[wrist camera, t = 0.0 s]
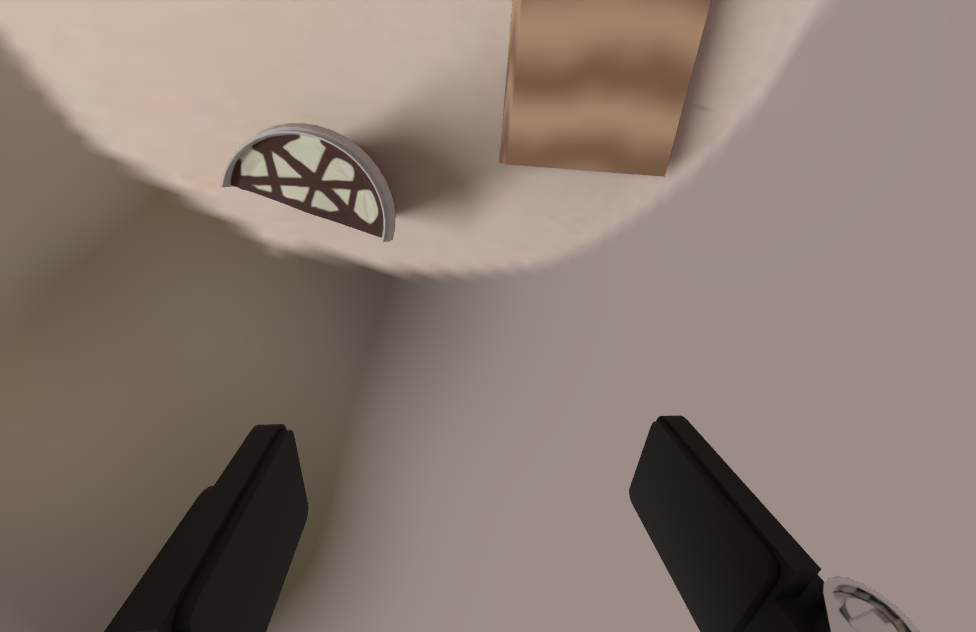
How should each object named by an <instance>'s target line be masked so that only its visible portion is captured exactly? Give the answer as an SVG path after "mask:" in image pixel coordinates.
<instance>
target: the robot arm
mask: <svg viewBox="0 0 976 632" xmlns="http://www.w3.org/2000/svg"><path fill="white" fill-rule="evenodd" d="M629 494H630V499H631V502H632V504H633V506H634V508H635V510H636V512H637V514H638V516H639V517H640V519H641V521H642V523H643V525H644V527H645V529H646V531H647V532H648V534H649V536H650V538H651V540H652V542H653V544H654V546H655V548H656V549H657V551H658V553H659V555H660V557H661V559H662V561H663V562H664V564H665V566H666V568H667V570H668V572H669V574H670V576H671V577H672V579H673V581H674V583H675V585H676V587H677V589H678V591H679V592H680V594H681V596H682V598H683V600H684V602H685V604H686V606H687V608H688V609H689V611H690V613H691V615H692V617H693V619H694V621H695V623H696V625H697V626H698V628H699V630H700V632H920V631H919V630H918V629H917V628H916V626H915V625H914V624H913V623H912V622H911V620H910V619H909V618H908V617H907V616H906V615H905V614H904V613H903V612H902V611H901V610H899V608H898V607H897V606H896V605H894V604H893V603H892V602H890V601H889V600H888V599H886V598H885V597H884V596H883V595H881V594H880V593H879V592H877V591H875V590H873V589H871V588H870V587H868V586H866V585H865V584H863V583H860V582H858V581H855V580H853V579H850V578H846V577H840V576H835V577H831V578H828V579H827V580H826V582H824V581H823V580H822V579H821V578H820V577H819V576H818V572H819V571H820V570H821V568H820V567H819V566H818V565H817V564H816V563H815V562H814V561H813V559H812V558H811V557H810V556H809V555H808V554H807V553H806V552H805V551H804V550H803V548H802V547H801V546H800V545H799V544H798V543H797V542H796V541H795V539H793V537H792V536H791V535H790V534H789V533H788V532H787V531H786V529H785V528H784V527H783V526H782V525H781V524H780V523H779V522H778V521H777V519H775V517H774V516H773V515H772V514H771V513H770V512H769V511H768V510H767V508H766V507H765V506H764V505H763V504H762V503H761V502H760V500H759V499H758V498H757V497H756V496H755V495H754V494H753V493H752V492H751V490H749V488H748V487H747V486H746V485H745V484H744V483H743V482H742V480H741V479H740V478H739V477H738V476H737V475H736V474H735V473H734V472H733V470H732V469H731V468H730V467H729V466H728V465H727V464H726V463H725V462H724V460H723V459H722V458H721V457H720V456H719V455H718V454H717V453H716V451H715V450H714V449H713V448H712V447H711V446H710V445H709V444H708V443H707V442H706V440H704V438H703V437H702V436H701V435H700V434H699V433H698V431H697V430H696V429H695V428H694V427H693V426H692V425H691V424H690V423H689V421H688V420H687V419H685V418H684V417H683V416H660V417H659V418H658V419H657V420H656V422H653V423H652V425H651V428H650V430H649V434H648V437H647V439H646V442H645V446H644V448H643V451H642V454H641V457H640V460H639V462H638V466H637V468H636V471H635V474H634V477H633V480H632V483H631V486H630V489H629ZM307 515H308V502H307V497H306V492H305V487H304V482H303V477H302V472H301V467H300V462H299V457H298V452H297V448H296V442H295V437H294V433H293V431H291V430H286V427H285V426H284V425H283V424H273V425H256V426H255V427H254V428H253V429H252V430H251V431H250V433H249V434H248V436H247V437H246V439H245V440H244V442H243V443H242V445H241V447H240V448H239V449H238V451H237V452H236V454H235V455H234V457H233V458H232V460H231V461H230V463H229V464H228V466H227V467H226V469H225V470H224V472H223V473H222V475H221V476H220V478H219V479H218V481H217V482H216V484H215V485H214V486H210V487H208V488H207V489H205V490H204V491H203V492H202V493H201V494H200V495H199V497H198V498H197V499H196V501H195V502H194V504H193V505H192V506H191V508H190V509H189V511H188V512H187V513H186V515H185V516H184V518H183V519H182V521H181V522H180V524H179V525H178V527H177V528H176V529H175V531H174V532H173V534H172V535H171V537H170V538H169V539H168V541H167V543H166V544H165V545H164V547H163V548H162V549H161V551H160V552H159V554H158V555H157V557H156V558H155V559H154V561H153V562H152V564H151V565H150V567H149V568H148V570H147V571H146V572H145V574H144V575H143V577H142V578H141V580H140V581H139V583H138V584H137V585H136V587H135V588H134V590H133V591H132V593H131V594H130V595H129V597H128V598H127V600H126V601H125V603H124V604H123V606H122V607H121V608H120V610H119V611H118V613H117V614H116V615H115V617H114V618H113V620H112V621H111V623H110V624H109V625H108V627H107V628H106V630H105V631H104V632H266V630H267V628H268V625H269V622H270V619H271V616H272V614H273V611H274V608H275V605H276V603H277V600H278V597H279V594H280V592H281V589H282V586H283V584H284V581H285V578H286V575H287V572H288V570H289V567H290V564H291V562H292V559H293V556H294V553H295V551H296V548H297V545H298V542H299V540H300V537H301V534H302V531H303V529H304V525H305V522H306V520H307Z"/></svg>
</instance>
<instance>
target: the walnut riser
mask: <svg viewBox="0 0 976 632" xmlns="http://www.w3.org/2000/svg"><path fill="white" fill-rule="evenodd" d="M710 3H711V0H513V2H512V15H511V27H510V39H509V52H508V64H507V76H506V88H505V101H504V113H503V125H502V138H501V150H500V163H504V164H511V165H523V166H536V167H549V168H562V169H575V170H588V171H600V172H613V173H626V174H639V175H652V176H665V173H666V169H667V165H668V162H669V158H670V154H671V150H672V146H673V143H674V139H675V135H676V131H677V128H678V124H679V120H680V116H681V112H682V109H683V105H684V101H685V97H686V94H687V90H688V86H689V82H690V78H691V75H692V71H693V67H694V63H695V59H696V56H697V52H698V48H699V44H700V41H701V37H702V33H703V29H704V25H705V22H706V18H707V14H708V10H709V7H710Z"/></svg>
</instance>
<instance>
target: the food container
mask: <svg viewBox="0 0 976 632" xmlns="http://www.w3.org/2000/svg"><path fill="white" fill-rule="evenodd" d="M230 186H235V187H238V188H240V189H243V190H247V191H250V192H254V193H256V194H259V195H262V196H265V197H267V198H270V199H273V200H276V201H278V202H281V203H284V204H286V205H289V206H291V207H294V208H297V209H299V210H302V211H304V212H307V213H309V214H313V215H316V216H319V217H322V218H325V219H329V220H332V221H335V222H338V223H341V224H344V225H346V226H349V227H352V228H355V229H358V230H361V231H364V232H366V233H369V234H372V235H375V236H378V237H381V238H382V243H383V242H384V241H385V242H389V241H391V240H393V236H394V231H395V208H394V202H393V198H392V195H391V191H390V189H389V187H388V184H387V182H386V180H385V178H384V176H383V173H382V172H381V171H380V169H379V168H378V167H377V165H376V164H375V163H374V162H373V160H372V159H371V158H370V157H369V156H368V155H367V154H366V153H365V152H364V151H363V150H362V149H361V148H360V147H359V146H358V145H356V144H355V143H353V142H352V141H350V140H349V139H347V138H346V137H344V136H342V135H340V134H338V133H336V132H334V131H332V130H329V129H326V128H323V127H320V126H317V125H310V124H304V123H289V124H284V125H278V126H274V127H272V128H269V129H267V130H264V131H262V132H260V133H258V134H256V135H255V136H253V137H252V138H250V139H248V140H247V141H245V142H244V143H243V144H242V145H241V146H240V147H239V148H238V149H237V150H236V151H235V153H234V154H233V156H232V157H231V159H230V160H229V162H228V165H227V167H226V170H225V172H224V175H223V179H222V183H221V187H230ZM382 236H383V237H382Z"/></svg>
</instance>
